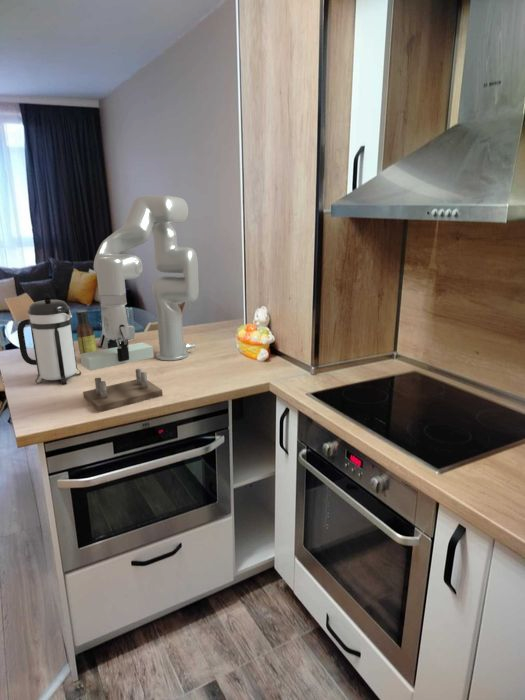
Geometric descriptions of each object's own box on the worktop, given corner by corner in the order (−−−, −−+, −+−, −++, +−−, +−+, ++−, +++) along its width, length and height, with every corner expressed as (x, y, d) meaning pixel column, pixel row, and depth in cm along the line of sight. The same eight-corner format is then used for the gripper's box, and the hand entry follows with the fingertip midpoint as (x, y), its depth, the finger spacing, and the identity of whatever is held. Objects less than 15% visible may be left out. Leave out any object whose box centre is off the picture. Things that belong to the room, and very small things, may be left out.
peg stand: (144, 383, 157) (142, 363, 155) (162, 395, 146) (160, 374, 144) (83, 397, 145) (81, 376, 143) (99, 412, 135) (96, 389, 133)
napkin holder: (127, 338, 213) (130, 318, 208) (134, 342, 211) (137, 323, 206) (96, 346, 200) (98, 326, 195) (103, 352, 198) (105, 331, 193)
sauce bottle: (101, 358, 183) (95, 309, 178) (92, 363, 177) (86, 312, 172) (85, 358, 184) (79, 308, 179) (77, 363, 178) (70, 312, 173)
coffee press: (76, 368, 173) (65, 287, 164) (86, 380, 160) (75, 294, 151) (24, 377, 164) (10, 292, 155) (30, 391, 151) (15, 300, 142)
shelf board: (90, 370, 133) (89, 359, 132) (81, 365, 138) (80, 354, 137) (153, 357, 146) (152, 346, 145) (143, 352, 151) (142, 342, 150)
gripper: (90, 297, 141) (96, 353, 146) (111, 305, 128) (117, 367, 133) (114, 294, 146) (120, 349, 151) (137, 302, 132) (142, 362, 137)
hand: (118, 357), depth 142 cm, fingers closed on shelf board, 7 cm apart
